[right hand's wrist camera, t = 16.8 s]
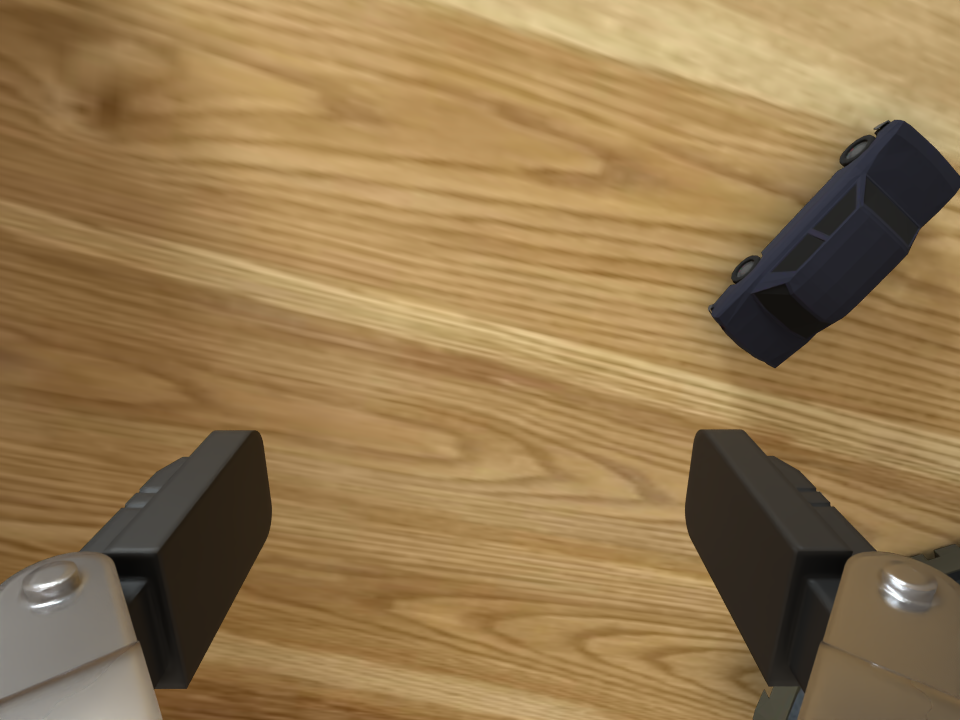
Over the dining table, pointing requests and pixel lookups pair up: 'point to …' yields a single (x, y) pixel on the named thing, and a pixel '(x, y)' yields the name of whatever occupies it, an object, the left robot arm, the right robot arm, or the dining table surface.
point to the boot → (784, 703)
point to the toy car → (837, 243)
